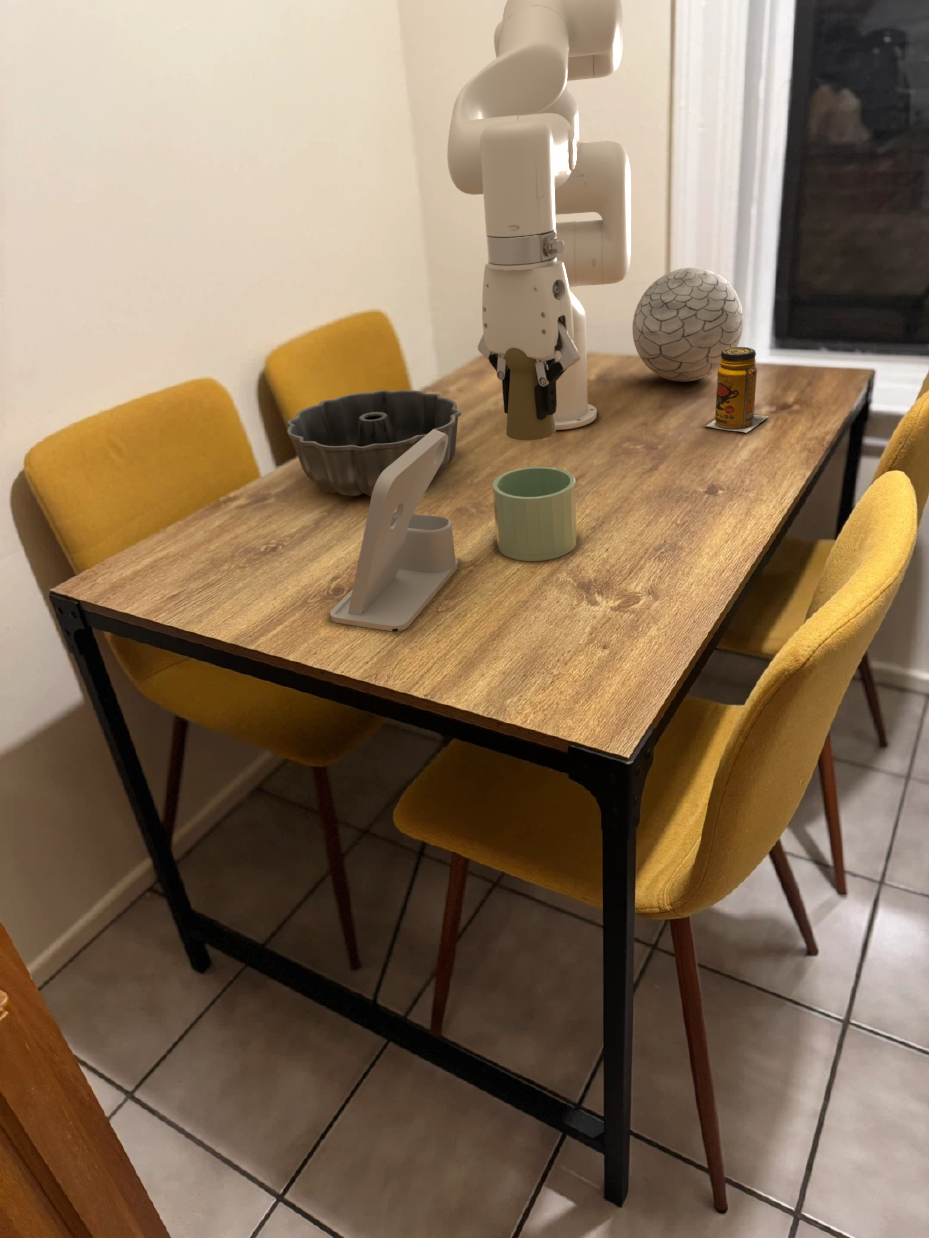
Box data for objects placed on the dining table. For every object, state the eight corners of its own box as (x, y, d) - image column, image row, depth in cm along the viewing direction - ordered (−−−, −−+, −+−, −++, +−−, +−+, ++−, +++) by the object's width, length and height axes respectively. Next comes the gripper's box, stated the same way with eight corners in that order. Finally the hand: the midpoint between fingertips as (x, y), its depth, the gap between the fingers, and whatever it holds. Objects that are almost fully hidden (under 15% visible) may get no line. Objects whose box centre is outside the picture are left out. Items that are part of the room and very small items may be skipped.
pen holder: (483, 540, 117) (477, 480, 113) (547, 519, 121) (544, 460, 117) (524, 569, 109) (521, 505, 105) (592, 545, 113) (591, 483, 109)
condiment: (704, 427, 146) (708, 353, 140) (728, 412, 151) (732, 340, 145) (746, 434, 142) (752, 358, 136) (769, 418, 147) (775, 344, 141)
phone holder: (393, 553, 116) (374, 420, 107) (464, 562, 112) (451, 424, 103) (326, 621, 103) (297, 475, 93) (404, 633, 99) (383, 482, 90)
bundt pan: (492, 453, 145) (487, 392, 139) (417, 520, 125) (409, 452, 119) (353, 441, 155) (344, 385, 150) (264, 502, 135) (250, 439, 130)
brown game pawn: (553, 440, 104) (549, 345, 99) (502, 440, 106) (495, 347, 100) (558, 422, 109) (555, 331, 104) (510, 423, 111) (504, 333, 105)
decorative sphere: (673, 359, 181) (676, 255, 171) (760, 374, 168) (769, 261, 157) (610, 385, 170) (610, 275, 160) (698, 402, 157) (704, 283, 147)
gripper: (606, 246, 94) (606, 414, 104) (484, 242, 104) (495, 395, 114) (565, 259, 90) (570, 434, 99) (442, 253, 100) (457, 412, 109)
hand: (530, 411), depth 106 cm, fingers closed on brown game pawn, 4 cm apart
